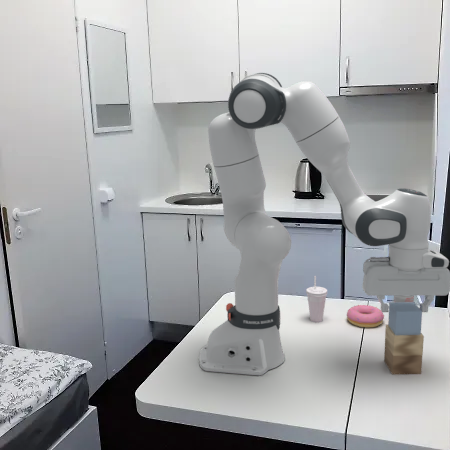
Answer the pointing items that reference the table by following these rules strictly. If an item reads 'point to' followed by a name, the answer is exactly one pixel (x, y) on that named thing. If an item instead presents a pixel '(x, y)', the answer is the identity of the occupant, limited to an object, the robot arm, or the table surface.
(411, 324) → the blue block
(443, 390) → the table surface
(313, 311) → the smoothie
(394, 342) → the tower top
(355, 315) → the doughnut
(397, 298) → the energy drink
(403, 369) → the tower base
